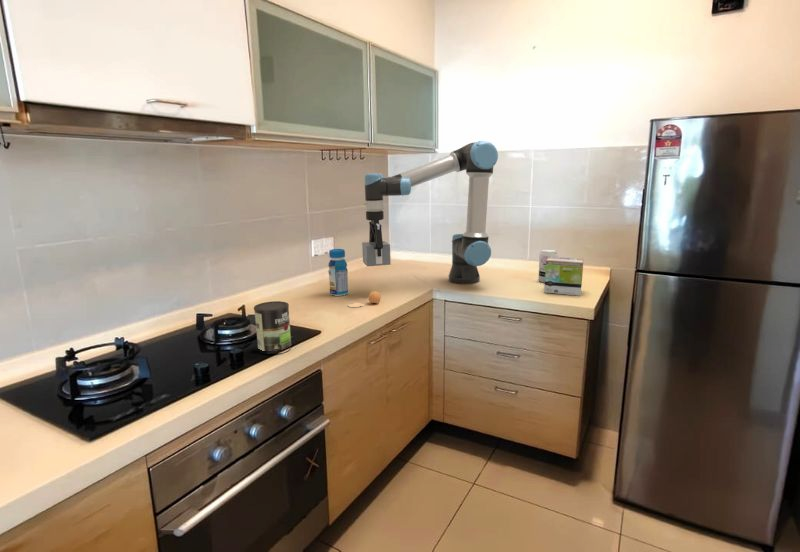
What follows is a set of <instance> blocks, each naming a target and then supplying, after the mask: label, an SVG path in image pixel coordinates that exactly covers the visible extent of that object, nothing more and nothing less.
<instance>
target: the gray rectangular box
mask: <svg viewBox="0 0 800 552" xmlns="http://www.w3.org/2000/svg"><path fill="white" fill-rule="evenodd" d="M382 241H383V248H382V264H376V254H375V249H374V248H375V247H376V245H375V242H369V241H365V242H361V245H362V250H361V251H362V262H363V264H364V265H365V266H366V267H375V266H376V267H377V266H390V265H392V264H391V244H390V243H388V242H387V241H385V240H382Z"/></svg>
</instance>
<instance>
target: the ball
mask: <svg viewBox="0 0 800 552" xmlns="http://www.w3.org/2000/svg"><path fill="white" fill-rule="evenodd" d="M381 298H382V296H381V294H380V293H379V292H378V291H371V292H370V293H369V294H368V301H369V302H370V303H371V304H373V303H376V304H378V303H380V302H381Z"/></svg>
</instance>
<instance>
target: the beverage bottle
mask: <svg viewBox="0 0 800 552" xmlns="http://www.w3.org/2000/svg"><path fill="white" fill-rule="evenodd" d="M345 256H346V251H345V249H343V248H333V249H330V250H329V258H330V260H329V262H328V265H327V266H328V280H329V294H330V295H331V296H332V295H335V296H334V297H341V296H340V295H344V296H346V295H345V294H347V295H348V294H349V281H348V278H349V277H348V273H349V272H348V271H349V270H348V267H347V266H348V263H347V261H346V259H345Z"/></svg>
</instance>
